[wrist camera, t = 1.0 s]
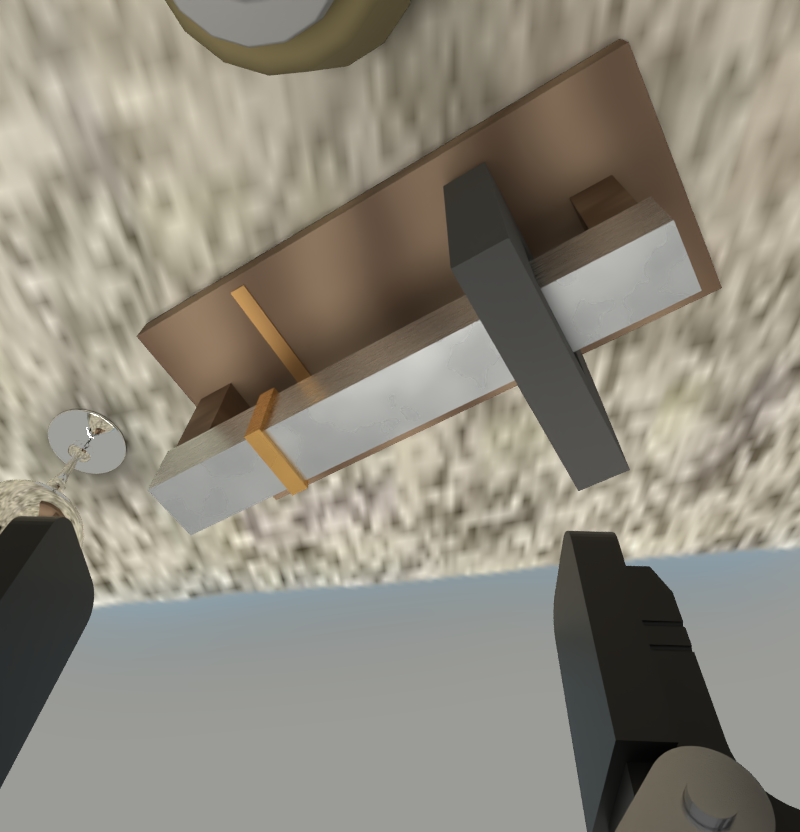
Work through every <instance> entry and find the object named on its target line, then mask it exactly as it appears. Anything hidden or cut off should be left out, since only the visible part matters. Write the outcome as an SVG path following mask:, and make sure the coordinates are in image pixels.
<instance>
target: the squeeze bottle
mask: <svg viewBox="0 0 800 832" xmlns="http://www.w3.org/2000/svg"><path fill="white" fill-rule="evenodd" d="M165 1H166V2H167V4H168V6H169V7H170V9H171V10H172V12H173V13H174V15H175V17H176V18H177V20H178V21H179V23H180V24H181V26H182V27H183V29H184V31H185V32H187V33H188V34H189V35H191V36H192V37H193V38H194V39H196V40H197V41H198V42H199V43H201V44H202V45H203V46H204V47H206V48H207V49H208V50H210V51H211V52H212V53H213V54H215V55H216V56H217V57H218V58H220V59H221V60H222V61H223V62H225V63H229V64H232V65H235V66H239V67H242V68H245V69H249V70H252V71H256V72H259V73H262V74H266V75H278V74H288V73H298V72H308V71H315V70H323V69H330V68H337V67H344V66H349V65H350V64H352V63H353V62H355V61H357V60H358V59H360V58H361V57H363V56H364V55H366V54H367V53H369V52H371V51H372V50H374V49H375V48H377V47H378V46H380V45H381V44H383V43H384V42H385V40H386V39H387V37H388V36H389V34H390V33H391V31H392V30H393V28H394V27H395V26H396V24H397V23H398V21H399V20H400V18H401V17H402V15H403V14H404V12H405V11H406V9H407V8H408V6H409V5H410V1H411V0H165Z"/></svg>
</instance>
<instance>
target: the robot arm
mask: <svg viewBox="0 0 800 832" xmlns="http://www.w3.org/2000/svg"><path fill="white" fill-rule="evenodd" d="M93 602H94V587H93V582H92V579H91V576H90V573H89V570H88V567H87V564H86V561H85V558H84V555H83V552H82V550H81V547H80V544H79V541H78V538H77V535H76V532H75V529H74V526H73V524H72V522H71V521H70V520H69V519H68V518H66V517H45V516H18V517H15V518H14V519H13V520H11V521H10V522H9V524H8V525H7V526H6V528H5V529H4V530H3V531H2V533H1V534H0V788H1V786H2V784H3V782H4V780H5V778H6V776H7V775H8V773H9V771H10V769H11V767H12V765H13V763H14V761H15V759H16V758H17V756H18V754H19V752H20V750H21V748H22V746H23V744H24V742H25V740H26V739H27V737H28V735H29V733H30V731H31V729H32V727H33V725H34V723H35V721H36V720H37V717H38V716H39V714H40V712H41V710H42V708H43V706H44V704H45V702H46V700H47V699H48V697H49V695H50V693H51V691H52V689H53V687H54V685H55V684H56V682H57V680H58V678H59V676H60V674H61V672H62V670H63V668H64V666H65V665H66V663H67V661H68V658H69V657H70V655H71V653H72V651H73V649H74V647H75V646H76V644H77V642H78V640H79V638H80V636H81V634H82V632H83V630H84V629H85V627H86V625H87V623H88V621H89V618H90V616H91V612H92V608H93ZM554 632H555V640H556V646H557V652H558V658H559V664H560V670H561V676H562V683H563V688H564V694H565V701H566V706H567V713H568V719H569V725H570V731H571V737H572V743H573V749H574V755H575V761H576V767H577V773H578V779H579V785H580V791H581V798H582V803H583V810H584V815H585V822H586V827H587V832H800V810H799V809H796V808H794V807H792V806H789V805H787V804H785V803H783V802H782V801H780V800H778V799H776V798H774V797H773V796H772V795H770V794H768V793H767V792H765V791H764V789H763V788H762V786H761V785H760V783H759V782H758V781H757V780H756V779H755V777H753V775H752V774H751V773H750V772H749V771H748V770H746V769H745V768H744V767H743V766H742V765H740V764H739V763H738V762H736V760H735V758H734V757H733V755H732V753H731V752H730V749H729V747H728V744H727V742H726V739H725V737H724V734H723V731H722V729H721V726H720V723H719V720H718V717H717V715H716V712H715V709H714V706H713V703H712V701H711V698H710V695H709V692H708V689H707V687H706V684H705V681H704V678H703V676H702V673H701V670H700V667H699V665H698V662H697V659H696V656H695V653H694V652H692V648H691V647H692V645H691V642H690V640H689V637H688V634H687V631H686V628H685V627H683V620H682V617H681V614H680V612H679V609H678V606H677V604H676V601H675V598H674V595H673V592H672V591H671V590H670V589H669V588H668V587H667V586H666V584H665V583H664V582H663V581H662V580H661V579H660V578H659V577H658V575H657V574H656V573H655V572H654V571H653V570H652V569H651V568H650V567H647V566H626V565H625V562H624V558H623V555H622V552H621V548H620V545H619V542H618V539H617V536H616V534H615V533H614V532H589V531H566V532H565V534H564V538H563V544H562V550H561V557H560V564H559V571H558V577H557V584H556V590H555V597H554Z"/></svg>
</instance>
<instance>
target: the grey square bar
mask: <svg viewBox="0 0 800 832" xmlns="http://www.w3.org/2000/svg"><path fill="white" fill-rule="evenodd" d="M529 263H530V266H531V269H532V272H533V274H534V277H535V279H536V281H537V283H538V285H539V287H540V289H541V291H542V293H543V295H544V297H545V299H546V301H547V303H548V304H549V306H550V308H551V310H552V312H553V314H554V316H555V318H556V320H557V322H558V324H559V326H560V328H561V330H562V332H563V333H564V335H565V337H566V339H567V341H568V343H569V345H570V347H571V349H572V351H573V352H575V351H577V350H579V349H581V348H583V347H585V346H587V345H589V344H592V343H594V342H596V341H598V340H600V339H602V338H604V337H606V336H608V335H610V334H612V333H615V332H617V331H619V330H621V329H623V328H625V327H627V326H629V325H631V324H633V323H635V322H638V321H640V320H642V319H644V318H646V317H648V316H650V315H652V314H654V313H656V312H658V311H661V310H663V309H665V308H667V307H669V306H671V305H673V304H675V303H677V302H679V301H681V300H683V299H686V298H688V297H690V296H692V295H694V294H696V293H698V292H700V291H702V290H701V287H700V285H699V282H698V280H697V277H696V275H695V272H694V270H693V267H692V265H691V262H690V260H689V257H688V255H687V252H686V250H685V247H684V245H683V242H682V239H681V237H680V234H679V232H678V229H677V227H676V224H675V222H674V220H673V219H672V218H671V217H670V216H669V215H668V214H667V213H666V212H665V211H664V210H663V209H662V208H661V207H660V206H659V205H658V204H657V203H656V202H655V201H654V200H653V199H652V198H651V197H649V198H647V199H645V200H643V201H641V202H640V203H638V204H636V205H634V206H632V207H630V208H628V209H626V210H624V211H622V212H621V213H619V214H617V215H615V216H613V217H611V218H609V219H607V220H605V221H604V222H602V223H600V224H598V225H596V226H594V227H592V228H590V229H588V230H587V231H585V232H583V233H581V234H579V235H577V236H575V237H573V238H571V239H569V240H568V241H566V242H564V243H562V244H560V245H558V246H556V247H554V248H552V249H551V250H549V251H547V252H545V253H543V254H541V255H539V256H537V257H535V258H534V259H532V260H530V261H529ZM512 381H514V378H513V376H512V375H511V373H510V371H509V369H508V368H507V366H506V364H505V362H504V361H503V359H502V357H501V356H500V354H499V352H498V350H497V349H496V347H495V345H494V343H493V342H492V340H491V338H490V336H489V335H488V333H487V331H486V330H485V328H484V326H483V324H482V323H481V321H480V319H479V317H478V316H477V314H476V312H475V310H474V309H473V307H472V305H471V303H470V302H469V300H468V298H467V297H466V295H463V296H462V297H460V298H458V299H456V300H454V301H452V302H450V303H448V304H446V305H445V306H443V307H441V308H439V309H437V310H435V311H433V312H431V313H429V314H427V315H426V316H424V317H422V318H420V319H418V320H416V321H414V322H412V323H410V324H409V325H407V326H405V327H403V328H401V329H399V330H397V331H395V332H393V333H391V334H390V335H388V336H386V337H384V338H382V339H380V340H378V341H376V342H374V343H373V344H371V345H369V346H367V347H365V348H363V349H361V350H359V351H357V352H356V353H354V354H352V355H350V356H348V357H346V358H344V359H342V360H340V361H338V362H337V363H335V364H333V365H331V366H329V367H327V368H325V369H323V370H321V371H320V372H318V373H316V374H314V375H312V376H310V377H308V378H306V379H304V380H302V381H301V382H299V383H297V384H295V385H293V386H291V387H289V388H287V389H285V390H284V391H282V392H280V393H278V391H277V390H276V389H275V388H272V389H270V390H268V391H266V392H264V393H263V394H261V395H260V396H259V399H258V402H257V404H256V405H255V406H253V407H251V408H249V409H248V410H246V411H244V412H242V413H240V414H238V415H236V416H234V417H232V418H231V419H229V420H227V421H225V422H223V423H221V424H219V425H217V426H215V427H213V428H212V429H210V430H208V431H206V432H204V433H202V434H200V435H198V436H196V437H195V438H193V439H191V440H189V441H187V442H185V443H183V444H181V445H179V446H178V447H176V448H174V449H172V450H170V451H168V453H167V454H166V456H165V458H164V460H163V462H162V464H161V466H160V468H159V470H158V471H157V473H156V475H155V477H154V479H153V481H152V483H151V485H150V487H149V489H148V491H149V492H150V493H151V494H152V495H153V496H154V497H155V498H156V499H157V500H158V502H159V503H160V504H161V505H162V506H163V507H164V508H165V509H166V510H167V511H168V512H169V513H170V514H171V515H172V516H173V517H174V518H175V519H176V520H177V521H178V522H179V523H180V524H181V525H182V527H183V528H184V529H185V530H186V531H187V532H188V533H189V534H190V535H192V534H194V533H197V532H199V531H201V530H203V529H205V528H207V527H209V526H211V525H213V524H215V523H217V522H219V521H222V520H224V519H226V518H228V517H230V516H232V515H234V514H236V513H238V512H240V511H242V510H245V509H247V508H249V507H251V506H253V505H255V504H257V503H259V502H261V501H263V500H265V499H268V498H270V497H272V496H274V495H276V494H278V493H280V492H282V491H284V490H286V489H288V491H289V492H290V493H291V494H292V495H294V494H296V493H298V492H300V491H302V490H305V489H307V488H308V483H309V479H310V478H311V477H314V476H316V475H318V474H320V473H322V472H324V471H326V470H328V469H330V468H332V467H334V466H337V465H339V464H341V463H343V462H345V461H347V460H349V459H351V458H353V457H355V456H357V455H360V454H362V453H364V452H366V451H368V450H370V449H372V448H374V447H376V446H378V445H380V444H383V443H385V442H387V441H389V440H391V439H393V438H395V437H397V436H399V435H401V434H403V433H406V432H408V431H410V430H412V429H414V428H416V427H418V426H420V425H422V424H424V423H426V422H429V421H431V420H433V419H435V418H437V417H439V416H441V415H443V414H445V413H447V412H449V411H451V410H454V409H456V408H458V407H460V406H462V405H464V404H466V403H468V402H470V401H472V400H474V399H477V398H479V397H481V396H483V395H485V394H487V393H489V392H491V391H493V390H495V389H497V388H500V387H502V386H504V385H506V384H508V383H510V382H512Z"/></svg>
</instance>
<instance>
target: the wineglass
mask: <svg viewBox="0 0 800 832" xmlns="http://www.w3.org/2000/svg"><path fill="white" fill-rule="evenodd" d="M48 440H49V444H50V446H51V448H52V450H53V452H54V453H55V454H56V455H57V457H58V458H59V459H60V460H61V461H63V462H64V463H65V464H66V466H65V467H64V469H63V470H62V471H61V472H60V473H59V474H58V475H57V476H56V477H54V478H53V479H51V480H49V481H48V482H47V483H46V484H43V483H40V482H36V481H31V480H8V481H3V482H0V534H1V533H2V531H3V530H4V529H5V528H6V526H7V525H8V524H9V522H10V521H11V520H13V519H14V518H15V517H18V516H45V517H66V518H68V519H69V520H70V521H71V522H72V524H73V526H74V529H75V532H76V535H77V538H78V541H79V544H80V547H81V550H82V547H83V541H84V529H83V523H82V519H81V517H80V515H79V513H78V511H77V509H76V507H75V506H74V505H73V503H72V502H71V501H70V500H69V499H68V498H67V497H66V496H65V495H64V494H63V492H64V489H65V484H66V482H67V480H68V477H69V475H70V474H71V472H72V471H73V469H76V470H78V471H81V472H85V473H91V474H102V473H107V472H110V471H112V470H114V469H116V468H117V467H118V466H119V465H120V464H121V463H122V462H123V460H124V458H125V455H126V442H125V440H124V437H123V435H122V433H121V432H120V430H119V429H118V428H117V427H116V426H115V425H114V424H113V423H112V422H111V421H110V420H108V419H107V418H105V417H104V416H102V415H100V414H97V413H95V412H92V411H88V410H80V409H75V410H68V411H65V412H62V413H60V414H59V415H57V416H56V417H55V418H54V419H53V420H52V422H51V423H50V425H49V428H48Z"/></svg>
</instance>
